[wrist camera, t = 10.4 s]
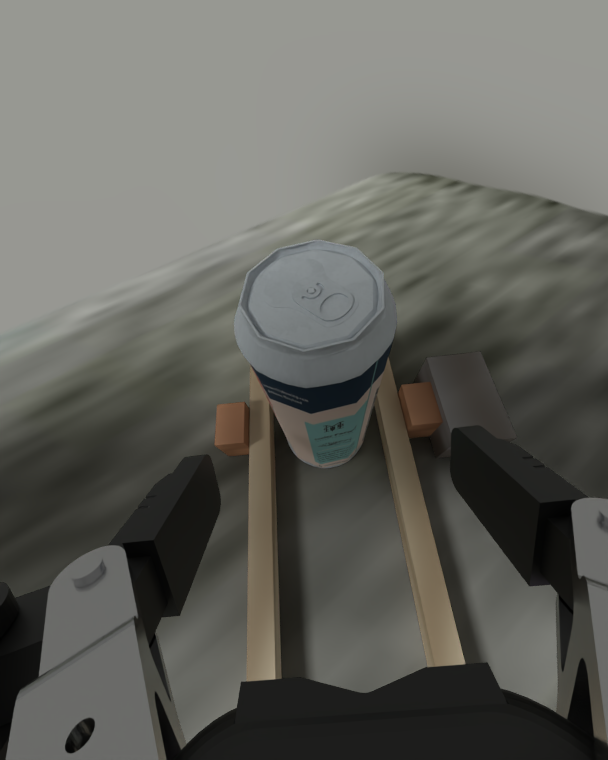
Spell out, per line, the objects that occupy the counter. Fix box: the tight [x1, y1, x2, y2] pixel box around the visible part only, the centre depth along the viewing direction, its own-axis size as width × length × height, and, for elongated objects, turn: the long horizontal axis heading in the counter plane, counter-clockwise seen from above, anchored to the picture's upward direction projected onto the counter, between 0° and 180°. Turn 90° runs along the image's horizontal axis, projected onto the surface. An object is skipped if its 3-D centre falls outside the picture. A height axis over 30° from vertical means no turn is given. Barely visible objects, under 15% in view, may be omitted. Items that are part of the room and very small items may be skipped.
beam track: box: [215, 351, 517, 681], centre depth 15 cm, size 15×32×3 cm, turn 4°
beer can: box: [234, 239, 397, 468], centre depth 13 cm, size 5×5×12 cm
